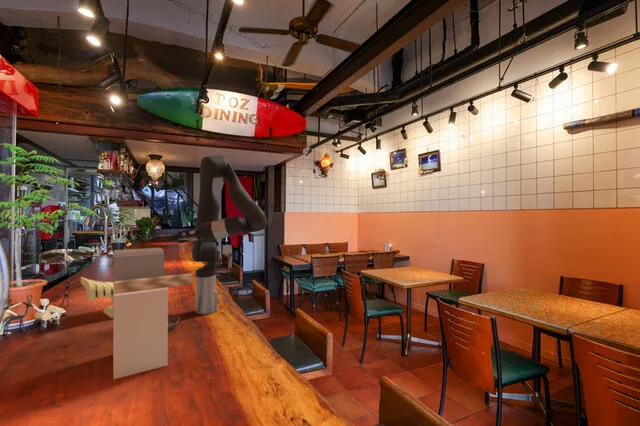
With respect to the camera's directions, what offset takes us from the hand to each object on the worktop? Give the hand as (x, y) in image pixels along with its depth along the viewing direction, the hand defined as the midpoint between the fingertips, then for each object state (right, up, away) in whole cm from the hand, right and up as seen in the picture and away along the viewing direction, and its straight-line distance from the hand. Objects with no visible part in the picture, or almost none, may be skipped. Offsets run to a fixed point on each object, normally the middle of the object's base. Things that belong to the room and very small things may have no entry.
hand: (173, 240), depth 116 cm
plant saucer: (-11, -37, +7) cm, 39 cm away
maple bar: (+4, -13, -20) cm, 24 cm away
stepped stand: (-2, -37, -18) cm, 41 cm away
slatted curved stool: (-36, -36, +26) cm, 58 cm away
